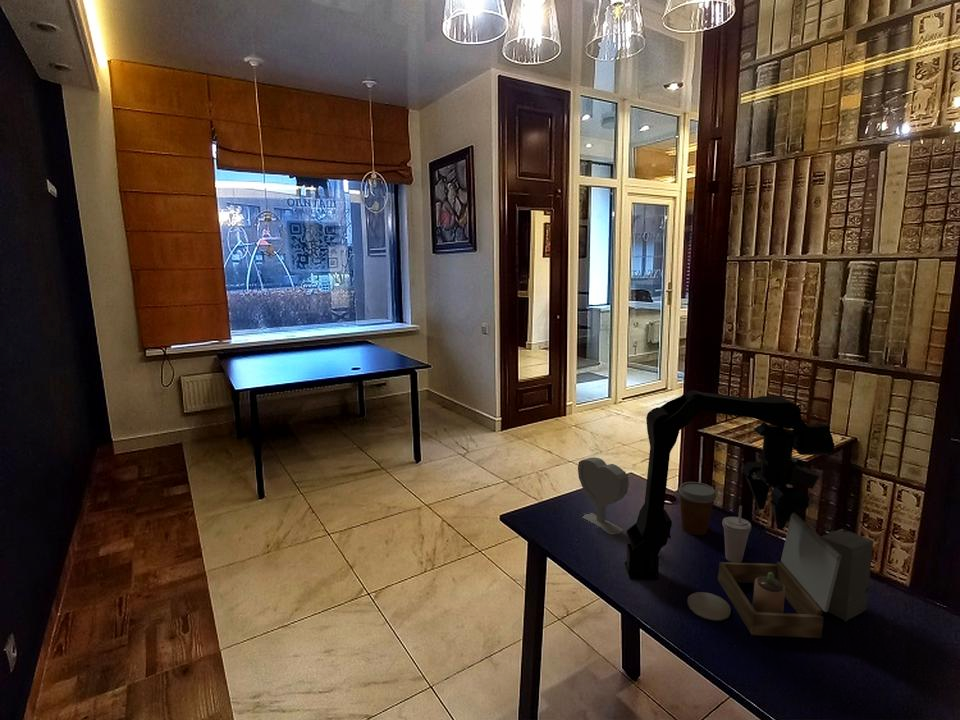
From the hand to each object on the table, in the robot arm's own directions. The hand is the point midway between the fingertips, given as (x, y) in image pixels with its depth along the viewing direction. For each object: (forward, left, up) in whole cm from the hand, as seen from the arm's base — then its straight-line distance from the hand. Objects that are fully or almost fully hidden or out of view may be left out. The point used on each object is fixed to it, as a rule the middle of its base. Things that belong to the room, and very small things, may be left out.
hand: (770, 518), depth 117 cm
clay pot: (-5, -13, -15) cm, 20 cm away
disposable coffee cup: (-9, +21, -15) cm, 27 cm away
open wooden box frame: (-3, -11, -15) cm, 19 cm away
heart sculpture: (-34, +23, -15) cm, 44 cm away
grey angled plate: (+3, -11, -3) cm, 12 cm away
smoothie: (-4, +7, -15) cm, 17 cm away
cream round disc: (-17, -12, -15) cm, 25 cm away
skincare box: (+11, -10, -15) cm, 21 cm away
